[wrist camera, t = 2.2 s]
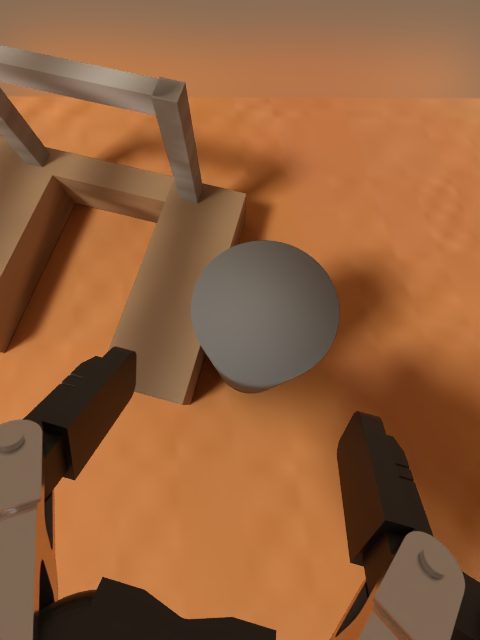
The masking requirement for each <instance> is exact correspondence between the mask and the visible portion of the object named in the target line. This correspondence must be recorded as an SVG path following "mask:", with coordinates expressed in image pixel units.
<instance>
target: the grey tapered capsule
mask: <svg viewBox="0 0 480 640" xmlns="http://www.w3.org/2000/svg"><path fill="white" fill-rule="evenodd" d="M339 317H340V313H339V302H338V297H337V293H336V290H335V287H334V285H333V283H332V281H331V279H330V277H329V276H328V274H327V273H326V271H325V270H324V269H323V268H322V266H321V265H320V264H319V263H318V262H317V261H316V260H315V259H313V258H312V257H311V256H309V255H308V254H307V253H305V252H303V251H302V250H300V249H298V248H296V247H294V246H291V245H288V244H285V243H282V242H276V241H266V240H261V241H251V242H245V243H242V244H239V245H236V246H234V247H231V248H229V249H227V250H226V251H224V252H222V253H221V254H219V255H218V256H217V257H216V258H214V259H213V260H212V261H211V262H210V263H209V264H208V265H207V267H206V268H205V269H204V270H203V272H202V273H201V275H200V277H199V279H198V280H197V283H196V285H195V288H194V291H193V295H192V300H191V319H192V325H193V329H194V332H195V335H196V337H197V339H198V341H199V344H200V345H201V347H202V348H203V350H204V351H205V353H206V354H207V356H208V358H209V359H210V361H211V362H212V364H213V365H214V367H215V368H216V370H217V371H218V373H219V374H220V376H221V377H222V379H223V380H224V381H225V382H226V383H227V384H228V385H229V386H230V387H232V388H233V389H235V390H237V391H240V392H244V393H259V392H262V391H265V390H268V389H270V388H272V387H274V386H277V385H279V384H281V383H284V382H286V381H288V380H291V379H293V378H295V377H297V376H299V375H301V374H303V373H305V372H307V371H308V370H310V369H311V368H312V367H314V366H315V365H316V364H317V363H318V362H319V361H320V360H321V359H322V358H323V357H324V356H325V354H326V353H327V352H328V350H329V349H330V347H331V345H332V344H333V341H334V339H335V336H336V333H337V330H338V326H339Z"/></svg>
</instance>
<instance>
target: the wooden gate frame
mask: <svg viewBox="0 0 480 640" xmlns="http://www.w3.org/2000/svg"><path fill="white" fill-rule="evenodd" d="M0 82H4V83H9V84H14V85H18V86H23V87H27V88H32V89H36V90H41V91H45V92H50V93H54V94H59V95H63V96H68V97H73V98H77V99H82V100H86V101H91V102H95V103H100V104H105V105H109V106H114V107H118V108H123V109H127V110H132V111H136V112H141V113H146V114H150V115H155V116H156V117H157V121H158V124H159V128H160V131H161V135H162V138H163V142H164V145H165V149H166V152H167V156H168V159H169V163H170V166H171V170H172V173H173V177H172V176H168V175H164V174H159V173H155V172H151V171H146V170H142V169H138V168H133V167H129V166H125V165H120V164H116V163H112V162H107V161H103V160H99V159H94V158H90V157H86V156H81V155H77V154H73V153H68V152H64V151H60V150H55V149H51V148H47V147H45V146H44V145H43V144H42V142H41V141H40V140H39V138H38V137H37V136H36V134H35V133H34V132H33V131H32V129H31V128H30V127H29V125H28V124H27V123H26V121H25V120H24V119H23V117H22V116H21V115H20V113H19V112H18V111H17V109H16V108H15V107H14V105H13V104H12V103H11V101H10V100H9V99H8V97H7V96H6V95H5V93H4V92H3V91H2V89H1V88H0V135H1V136H2V137H0V352H3V353H5V351H6V349H7V347H8V345H9V342H10V340H11V338H12V336H13V334H14V332H15V330H16V328H17V325H18V323H19V321H20V319H21V317H22V315H23V313H24V311H25V309H26V306H27V304H28V302H29V300H30V298H31V296H32V294H33V292H34V289H35V287H36V285H37V283H38V281H39V279H40V277H41V275H42V272H43V270H44V268H45V266H46V264H47V262H48V260H49V258H50V256H51V253H52V251H53V249H54V247H55V245H56V243H57V241H58V239H59V236H60V234H61V232H62V230H63V228H64V226H65V224H66V222H67V219H68V217H69V215H70V213H71V211H72V209H73V207H74V205H75V203H77V204H81V205H85V206H89V207H93V208H97V209H102V210H106V211H110V212H114V213H118V214H122V215H126V216H131V217H135V218H139V219H143V220H147V221H151V222H155V223H157V224H156V227H155V230H154V232H153V235H152V238H151V240H150V243H149V245H148V248H147V251H146V253H145V256H144V258H143V261H142V264H141V266H140V269H139V272H138V274H137V277H136V279H135V282H134V285H133V287H132V290H131V292H130V295H129V298H128V300H127V303H126V306H125V308H124V311H123V313H122V316H121V319H120V321H119V324H118V326H117V329H116V332H115V334H114V337H113V340H112V342H111V345H110V347H109V350H110V349H111V348H112V347H114V346H117V347H120V348H124V349H128V350H132V351H135V352H136V354H137V364H136V386H135V390H134V392H138V393H142V394H145V395H149V396H152V397H156V398H160V399H163V400H167V401H170V402H174V403H178V404H181V405H190V404H191V401H192V398H193V394H194V391H195V388H196V384H197V381H198V377H199V374H200V371H201V367H202V364H203V361H204V357H205V354H206V353H205V351H204V350H203V348H202V347H201V345H200V344H199V341H198V339H197V337H196V335H195V332H194V329H193V325H192V319H191V300H192V295H193V291H194V288H195V285H196V283H197V280H198V279H199V277H200V275H201V273H202V272H203V270H204V269H205V268H206V267H207V265H208V264H209V263H210V262H211V261H212V260H213V259H214V258H216V257H217V256H218V255H219V254H221V253H222V252H224V251H226V250H227V249H229V248H231V247H234V246H236V245H238V243H239V239H240V236H241V232H242V229H243V226H244V222H245V214H246V193H242V192H237V191H233V190H229V189H224V188H220V187H216V186H211V185H207V184H203V183H202V181H201V175H200V169H199V163H198V157H197V151H196V145H195V139H194V133H193V127H192V120H191V114H190V108H189V102H188V96H187V90H186V84H185V82H180V81H176V80H171V79H166V78H161V77H160V78H159V79H157V78H152V77H148V76H144V75H139V74H134V73H129V72H125V71H120V70H115V69H110V68H105V67H101V66H96V65H91V64H87V63H82V62H77V61H72V60H68V59H63V58H58V57H53V56H49V55H44V54H39V53H34V52H30V51H25V50H20V49H15V48H11V47H6V46H1V45H0ZM109 350H108V351H109Z"/></svg>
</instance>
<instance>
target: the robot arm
mask: <svg viewBox="0 0 480 640" xmlns="http://www.w3.org/2000/svg"><path fill="white" fill-rule="evenodd" d="M136 364H137V354H136V352H135V351H132V350H128V349H124V348H120V347H117V346H114V347H112V348H111V349H110V350H109V351H108V352H107V353H106V354H105V355H104V356H103V358H101V357H98V356H95V357H93V358H91V359H89V360H87V361H85V362H83V363H81V364H80V365H79V366H78V367H77V368H76V369H75V370H74V371H73V372H72V373H71V375H70V376H68V377H67V378H65V379H64V380H63V381H62V384H59V385H58V386H57V387H56V388H55V389H54V390H53V391H52V392H51V393H50V394H49V395H48V396H47V397H46V398H45V399H44V400H43V401H42V402H41V403H40V404H39V405H37V406H36V407H35V408H34V409H33V410H32V411H31V412H30V413H29V414H28V415H27V416H26V417H25V418H24V419H23V420H14V421H9V422H6V423H3V424H1V425H0V640H276V630H273V629H269V628H266V627H263V626H260V625H256V624H253V623H250V622H247V621H244V620H240V619H237V618H234V617H225V618H206V619H184V618H182V617H180V616H178V615H177V614H176V613H175V612H173V611H172V610H171V609H169V608H168V607H167V606H165V605H164V604H163V603H161V602H160V601H159V600H157V599H156V598H155V597H153V596H152V595H151V594H149V593H148V592H147V591H145V590H143V589H140V588H137V587H134V586H130V585H127V584H124V583H121V582H117V581H114V580H111V579H108V578H105V577H102V580H101V582H100V584H99V586H98V588H97V590H88V591H83V592H78V593H76V594H73V595H70V596H67V597H64V598H62V599H60V600H58V579H57V568H56V558H55V499H54V488H55V487H56V485H57V484H58V482H59V481H60V480H61V478H62V477H65V478H68V479H72V480H75V479H76V478H77V476H78V475H79V474H80V472H81V471H82V469H83V468H84V466H85V465H86V463H87V462H88V460H89V459H90V458H91V456H92V455H93V453H94V452H95V450H96V449H97V447H98V446H99V444H100V443H101V441H102V440H103V439H104V437H105V436H106V434H107V433H108V431H109V430H110V428H111V427H112V425H113V424H114V423H115V421H116V420H117V418H118V417H119V415H120V414H121V412H122V411H123V409H124V408H125V407H126V405H127V404H128V402H129V401H130V399H131V397H132V395H133V393H134V390H135V386H136ZM337 460H338V468H339V476H340V484H341V492H342V500H343V508H344V516H345V525H346V533H347V541H348V549H349V557H350V563H353V564H357V565H360V566H364V569H365V575H366V579H365V580H364V581H363V582H362V584H361V586H360V588H359V589H358V591H357V593H356V595H355V596H354V598H353V600H352V601H351V603H350V605H349V607H348V608H347V610H346V612H345V614H344V615H343V617H342V619H341V621H340V622H339V624H338V626H337V628H336V629H335V631H334V633H333V634H332V636H331V638H330V639H329V640H480V583H479V582H478V581H476V580H475V579H473V578H471V577H470V576H468V575H467V574H465V573H464V572H462V570H461V568H460V566H459V564H458V562H457V561H456V559H455V558H454V556H453V555H452V553H451V552H450V551H449V550H448V549H447V548H446V547H445V546H444V545H443V544H442V543H441V542H440V541H438V540H437V539H436V538H434V536H433V534H432V531H431V528H430V525H429V522H428V519H427V517H426V514H425V511H424V508H423V505H422V502H421V499H420V497H419V494H418V491H417V488H416V485H415V483H413V480H414V479H413V477H412V474H411V471H410V470H409V465H408V462H407V459H406V456H405V454H404V451H403V450H402V448H401V447H400V446H399V444H398V443H397V442H396V440H395V439H394V437H392V436H389V435H386V433H385V430H384V426H383V423H382V420H381V418H380V417H377V416H373V415H370V414H366V413H362V412H358V411H357V412H355V413H354V415H353V416H352V418H351V420H350V422H349V424H348V425H347V427H346V429H345V431H344V433H343V435H342V437H341V438H340V441H339V444H338V449H337Z"/></svg>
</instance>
